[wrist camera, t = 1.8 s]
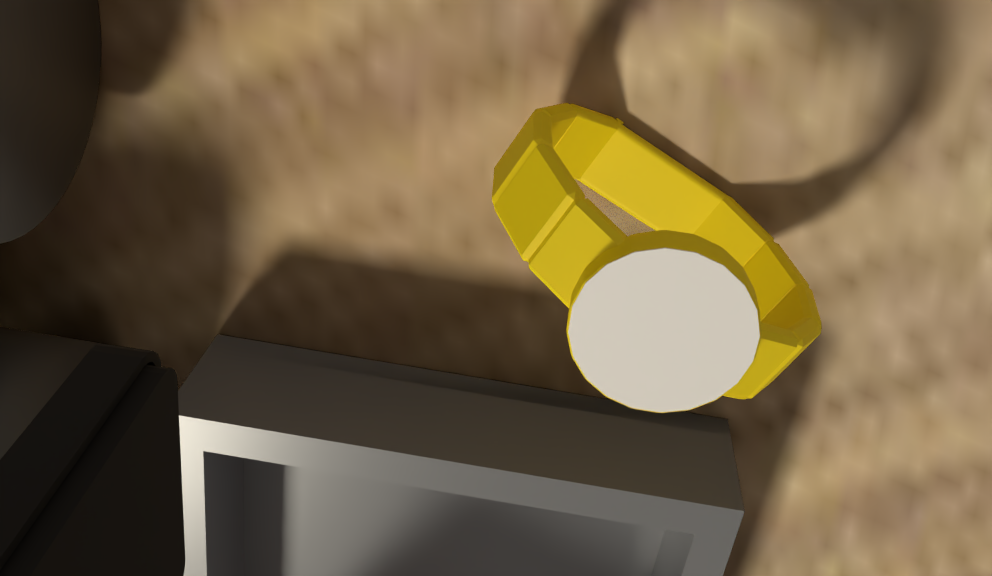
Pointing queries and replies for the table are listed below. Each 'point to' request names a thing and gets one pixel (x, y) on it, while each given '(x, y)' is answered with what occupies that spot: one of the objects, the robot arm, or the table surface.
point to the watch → (650, 266)
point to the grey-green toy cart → (41, 170)
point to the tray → (439, 474)
